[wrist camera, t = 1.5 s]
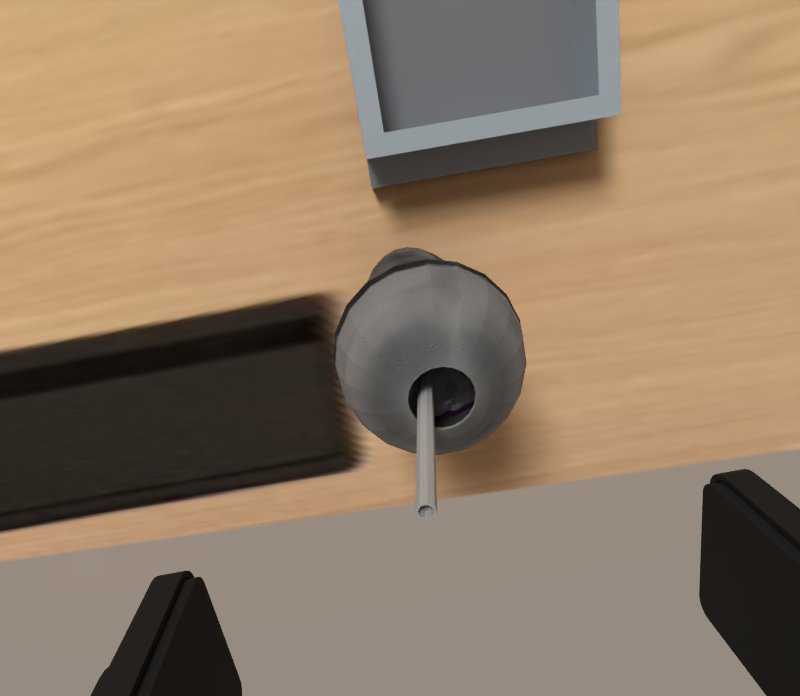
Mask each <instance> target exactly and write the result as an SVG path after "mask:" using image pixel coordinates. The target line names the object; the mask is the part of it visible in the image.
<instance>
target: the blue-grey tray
mask: <svg viewBox="0 0 800 696" xmlns="http://www.w3.org/2000/svg"><path fill="white" fill-rule="evenodd" d="M339 6H340V12H341V17H342V23H343V29H344V34H345V40H346V46H347V51H348V57H349V63H350V68H351V74H352V80H353V86H354V91H355V97H356V103H357V108H358V114H359V120H360V125H361V131H362V137H363V142H364V148H365V154H366V159H367V162H368V168H369V174H370V179H371V185H372V189H374V188H380V187H386V186H391V185H397V184H403V183H409V182H414V181H420V180H426V179H432V178H437V177H443V176H449V175H454V174H460V173H466V172H472V171H477V170H483V169H489V168H494V167H500V166H506V165H512V164H517V163H523V162H529V161H534V160H540V159H546V158H552V157H557V156H563V155H569V154H574V153H580V152H586V151H592V150H597V149H596V121H595V119H599V118H605V117H610V116H616V115H621V88H620V38H619V0H339Z"/></svg>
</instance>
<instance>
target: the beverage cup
mask: <svg viewBox="0 0 800 696" xmlns="http://www.w3.org/2000/svg"><path fill="white" fill-rule="evenodd" d="M333 361H334V365H335V369H336V372H337V376H338V380H339V383H340V387H341V389H342V391H343V393H344V397H345V399H346V401H347V403H348V404H349V406H350V407H351V409H352V410H353V412H354V413H355V415H356V416H357V418H358V419H359V420H360V422H361V423H362V425H364V426H365V427H366V428H367V429H368V430H370V431H371V432H372V433H373V434H375V435H376V436H377V437H379V438H380V439H381V440H383V441H384V442H385V443H387V444H389V445H392V446H395V447H397V448H400V449H403V450H406V451H408V452H411V453H417V457H416V513H417V516H418V517H419V518H421V519H424V520H428V519H432V518H434V516H435V515H436V514H437V496H436V463H435V455H441V454H446V453H451V452H455V451H460V450H464V449H466V448H468V447H470V446H472V445H474V444H476V443H478V442H479V441H481V440H483V439H485V438H487V437H488V436H489V435H490V434H491V433H492V432H493V431H494V430H495V429H496V428H497V427H498V426H499V425H500V424H501V423H502V422H503V421H504V420H505V419H506V418H507V417H508V415H509V414H510V412H511V410H512V408H513V406H514V405H515V403H516V401H517V399H518V397H519V396H520V393H521V389H522V383H523V378H524V373H525V368H526V357H525V350H524V343H523V336H522V330H521V325H520V319H519V317H518V315H517V314H516V312H515V310H514V308H513V306H512V304H511V302H510V300H509V298H508V296H507V294H505V293H504V292H503V291H502V290H501V289H500V288H499V287H498V286H497V285H496V284H495V283H494V282H493V281H491V280H490V279H489V278H488V277H487V276H486V275H485V274H483V273H481V272H478V271H476V270H474V269H472V268H469V267H467V266H465V265H463V264H460V263H458V262H452V261H444V260H442V259H441V258H439V257H438V256H436V255H434V254H432V253H429V252H427V251H425V250H422V249H419V248H408V247H406V248H402V249H397V250H394V251H392V252H391V253H389V254H387V255H386V256H384V257H383V258H382V259H381V261H380V262H379V263H378V264H377V265H376V267H375V268H374V269H373V271H372V273H371V275H370V278H369V280H368V282H367V283H366V284H365V285H364V286H363V287H362V288H361V289H360V291H359V292H358V293H357V294H356V295H355V296H354V297H353V298H352V300H351V301H350V302H349V303H348V304H347V306H346V308H345V310H344V313H343V315H342V317H341V320H340V322H339V325H338V327H337V329H336V332H335V343H334V358H333Z"/></svg>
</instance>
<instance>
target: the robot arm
mask: <svg viewBox="0 0 800 696" xmlns="http://www.w3.org/2000/svg"><path fill="white" fill-rule="evenodd" d="M701 536H702V537H701V563H700V593H699V595H700V602H701V605H702V608H703V610H704V613H705V614H706V616H707V617H708V619H709V620H710V622H711V623H712V624H713V626H714V627H715V628H716V630H717V631H718V632H719V633H720V635H721V636H722V638H723V639H724V640H725V641H726V643H727V644H728V645H729V647H730V648H731V650H732V651H733V652H734V653H735V655H736V656H737V657H738V659H739V660H740V661H741V663H742V664H743V665H744V666H745V668H746V669H747V671H748V672H749V673H750V675H751V676H752V677H753V679H754V680H755V681H756V682H757V684H758V685H759V686H760V688H761V689H762V690H763V692H764V693H765V694H766V695H767V696H800V509H799V508H798V507H797V506H795V505H794V504H793V503H792V502H790V501H789V500H788V499H787V498H785V497H784V496H783V495H781V494H780V493H779V492H778V491H777V490H775V489H774V488H773V487H771V486H770V485H769V484H768V483H766V482H765V481H764V480H763V479H761V478H760V477H759V476H758V475H756V474H755V473H754V472H752V471H750V470H747V469H743V470H737V471H731V472H726V473H720V474H716V475H713V476H712V478H711V481H710V484H707V485H705V486H704V489H703V506H702V535H701ZM91 696H242V687H241V681H240V678H239V675H238V673H237V670H236V667H235V665H234V662H233V659H232V656H231V654H230V651H229V648H228V646H227V643H226V640H225V637H224V635H223V632H222V629H221V626H220V624H219V621H218V618H217V616H216V613H215V610H214V607H213V605H212V602H211V599H210V597H209V594H208V591H207V588H206V586H205V583H204V581H203V579H202V578H201V577H196V578H194V576H193V574H192V573H191V572H190V571H182V572H177V573H171V574H166V575H160V576H157V577H155V578H154V579H153V581H152V582H151V584H150V586H149V588H148V590H147V592H146V594H145V596H144V598H143V600H142V602H141V604H140V606H139V608H138V610H137V612H136V614H135V616H134V618H133V620H132V622H131V624H130V626H129V628H128V630H127V632H126V634H125V636H124V638H123V640H122V642H121V644H120V646H119V648H118V650H117V652H116V654H115V656H114V658H113V660H112V662H111V664H110V666H109V667H108V668H107V669H106V670H105V671H104V672H103V674H102V675H101V677H100V678H99V680H98V682H97V684H96V686H95V688H94V690H93V692H92V694H91Z"/></svg>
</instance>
